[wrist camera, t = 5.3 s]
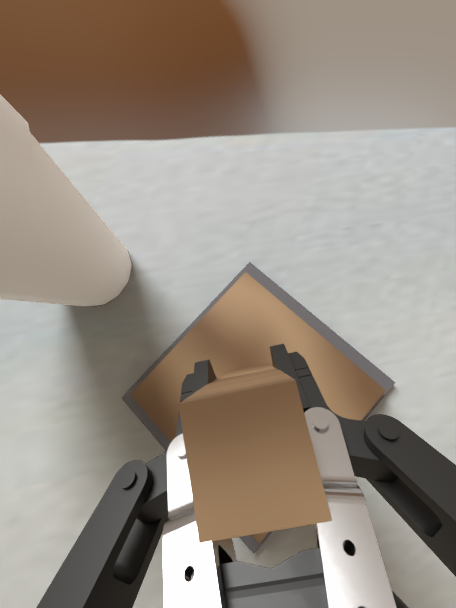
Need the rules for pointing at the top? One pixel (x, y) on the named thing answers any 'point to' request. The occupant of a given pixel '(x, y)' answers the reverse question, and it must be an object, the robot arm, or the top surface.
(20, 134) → the foam cup
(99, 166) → the top surface
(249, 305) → the lid
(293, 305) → the mat
